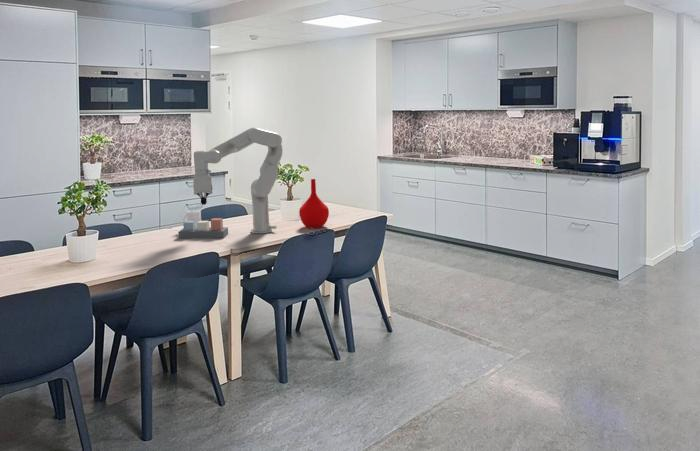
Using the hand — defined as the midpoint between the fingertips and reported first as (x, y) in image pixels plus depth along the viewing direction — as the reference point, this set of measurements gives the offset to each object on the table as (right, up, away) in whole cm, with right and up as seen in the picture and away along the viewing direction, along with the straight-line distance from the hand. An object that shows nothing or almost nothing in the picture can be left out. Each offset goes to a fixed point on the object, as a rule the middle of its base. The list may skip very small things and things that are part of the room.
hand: (204, 204), depth 352 cm
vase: (+62, -13, +26) cm, 69 cm away
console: (-1, -18, +3) cm, 19 cm away
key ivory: (-1, -16, +3) cm, 17 cm away
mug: (-12, -16, +19) cm, 28 cm away
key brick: (+7, -15, +3) cm, 17 cm away
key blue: (-9, -16, +3) cm, 19 cm away
